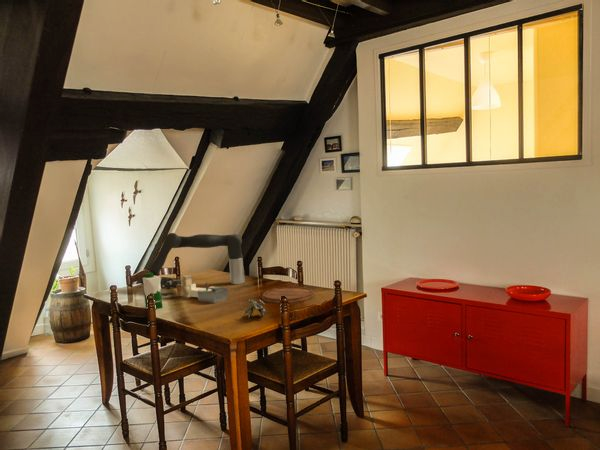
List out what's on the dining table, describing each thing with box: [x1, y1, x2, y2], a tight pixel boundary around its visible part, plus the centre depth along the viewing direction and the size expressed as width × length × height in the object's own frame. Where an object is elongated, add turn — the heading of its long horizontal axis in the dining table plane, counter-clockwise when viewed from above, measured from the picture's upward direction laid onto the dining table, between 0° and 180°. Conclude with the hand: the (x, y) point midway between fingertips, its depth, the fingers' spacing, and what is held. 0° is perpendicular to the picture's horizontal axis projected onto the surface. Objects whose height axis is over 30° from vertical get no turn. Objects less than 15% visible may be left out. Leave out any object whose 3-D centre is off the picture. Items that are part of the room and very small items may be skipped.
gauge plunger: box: [190, 282, 212, 298], centre depth 300 cm, size 14×7×8 cm, turn 56°
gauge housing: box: [197, 285, 229, 304], centre depth 294 cm, size 13×12×6 cm
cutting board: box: [260, 286, 316, 304], centre depth 293 cm, size 32×32×2 cm
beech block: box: [179, 274, 193, 298], centre depth 306 cm, size 5×5×13 cm
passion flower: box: [240, 299, 266, 319], centre depth 254 cm, size 11×11×12 cm
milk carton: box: [142, 272, 163, 310], centre depth 282 cm, size 9×9×20 cm
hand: (181, 284), depth 309 cm, fingers open, 8 cm apart
